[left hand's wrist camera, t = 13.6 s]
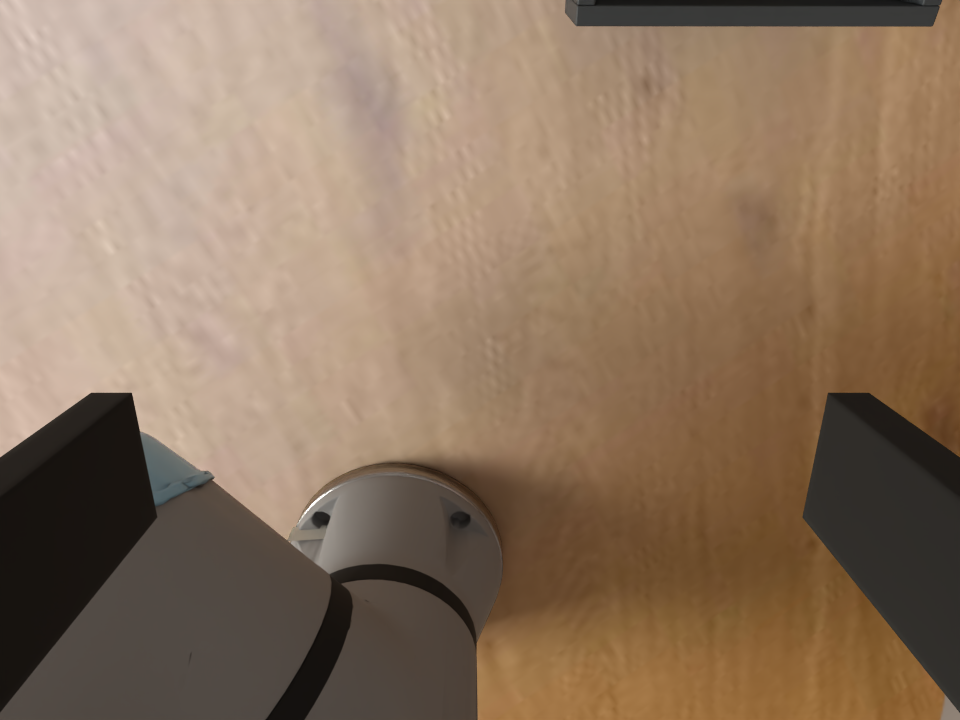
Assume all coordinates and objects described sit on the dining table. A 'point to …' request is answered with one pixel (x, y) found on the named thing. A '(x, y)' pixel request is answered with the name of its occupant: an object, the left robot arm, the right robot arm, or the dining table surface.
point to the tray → (752, 12)
